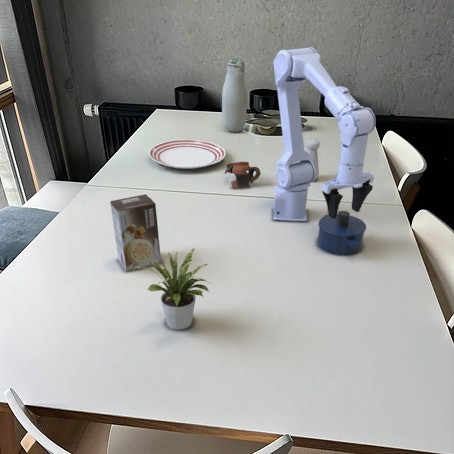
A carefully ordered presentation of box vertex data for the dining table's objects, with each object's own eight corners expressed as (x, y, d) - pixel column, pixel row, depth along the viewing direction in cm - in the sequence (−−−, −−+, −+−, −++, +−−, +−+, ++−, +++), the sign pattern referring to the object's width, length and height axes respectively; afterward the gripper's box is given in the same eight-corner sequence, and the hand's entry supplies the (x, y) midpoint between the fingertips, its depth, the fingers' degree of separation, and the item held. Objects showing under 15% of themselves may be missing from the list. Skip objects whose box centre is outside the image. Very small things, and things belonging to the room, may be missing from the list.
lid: (329, 241, 127) (331, 226, 125) (311, 220, 137) (312, 205, 134) (374, 236, 130) (376, 221, 127) (352, 215, 139) (354, 201, 137)
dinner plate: (239, 156, 190) (240, 147, 188) (196, 180, 171) (196, 171, 169) (179, 142, 202) (179, 134, 200) (133, 164, 183) (132, 154, 181)
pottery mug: (222, 189, 166) (219, 163, 165) (232, 191, 175) (229, 167, 174) (258, 184, 162) (255, 157, 161) (266, 187, 171) (264, 161, 170)
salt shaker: (317, 183, 170) (321, 144, 162) (300, 181, 171) (303, 142, 163) (318, 176, 174) (322, 138, 167) (301, 175, 175) (305, 137, 168)
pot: (332, 263, 128) (335, 243, 125) (307, 232, 141) (309, 214, 138) (373, 257, 130) (377, 238, 127) (345, 227, 144) (347, 210, 141)
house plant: (150, 354, 99) (144, 283, 90) (132, 314, 110) (124, 247, 101) (219, 336, 104) (219, 266, 95) (195, 299, 115) (193, 233, 105)
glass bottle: (220, 134, 212) (220, 60, 196) (224, 126, 220) (225, 55, 204) (244, 135, 210) (246, 61, 195) (247, 128, 219) (249, 56, 203)
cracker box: (152, 251, 132) (147, 193, 123) (161, 263, 127) (157, 203, 118) (117, 260, 128) (109, 200, 119) (125, 272, 124) (118, 211, 115)
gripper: (338, 172, 117) (331, 226, 125) (386, 161, 123) (376, 213, 131) (319, 163, 122) (313, 215, 130) (365, 152, 128) (357, 203, 136)
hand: (343, 213), depth 131 cm, fingers open, 7 cm apart
